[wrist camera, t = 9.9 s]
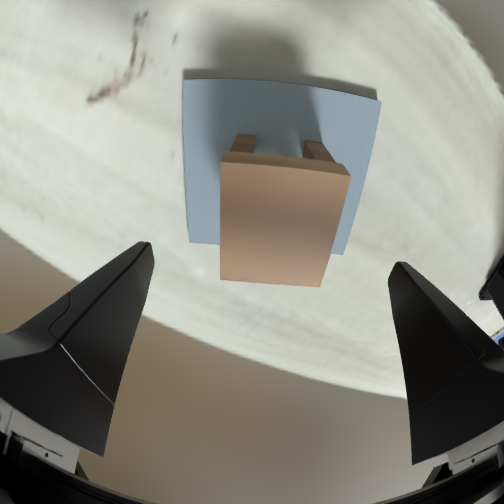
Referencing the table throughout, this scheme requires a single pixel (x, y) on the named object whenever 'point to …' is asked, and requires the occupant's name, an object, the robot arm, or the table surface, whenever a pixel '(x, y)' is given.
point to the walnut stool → (279, 213)
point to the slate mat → (270, 138)
